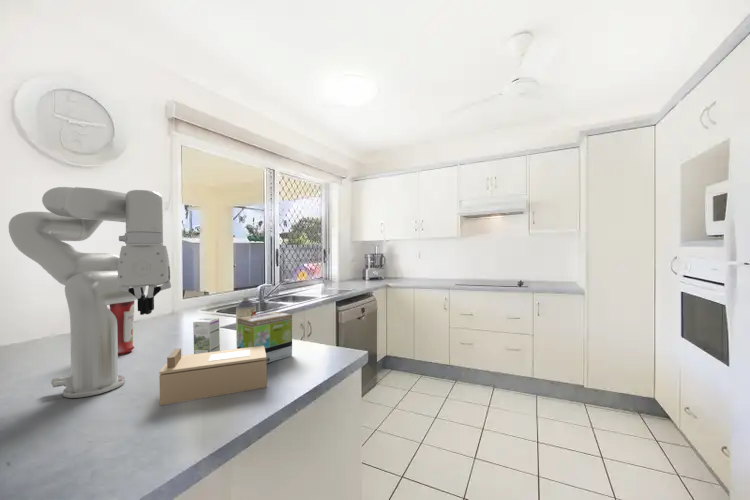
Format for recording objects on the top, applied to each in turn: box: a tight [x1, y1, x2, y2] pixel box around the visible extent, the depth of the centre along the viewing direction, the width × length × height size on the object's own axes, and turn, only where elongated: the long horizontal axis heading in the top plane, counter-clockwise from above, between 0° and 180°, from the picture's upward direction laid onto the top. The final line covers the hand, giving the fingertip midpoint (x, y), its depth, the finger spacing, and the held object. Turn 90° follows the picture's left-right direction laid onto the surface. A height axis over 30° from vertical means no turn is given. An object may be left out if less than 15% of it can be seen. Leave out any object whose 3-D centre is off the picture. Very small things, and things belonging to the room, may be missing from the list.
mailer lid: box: [159, 346, 266, 375], centre depth 85 cm, size 24×12×3 cm, turn 112°
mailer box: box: [159, 360, 268, 406], centre depth 85 cm, size 24×12×7 cm, turn 112°
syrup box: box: [192, 317, 221, 354], centre depth 104 cm, size 6×6×14 cm
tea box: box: [236, 311, 293, 364], centre depth 107 cm, size 15×10×15 cm
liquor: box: [109, 300, 135, 356], centre depth 118 cm, size 7×7×28 cm
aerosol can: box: [235, 296, 257, 340], centre depth 116 cm, size 7×7×20 cm
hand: (146, 313), depth 79 cm, fingers closed
